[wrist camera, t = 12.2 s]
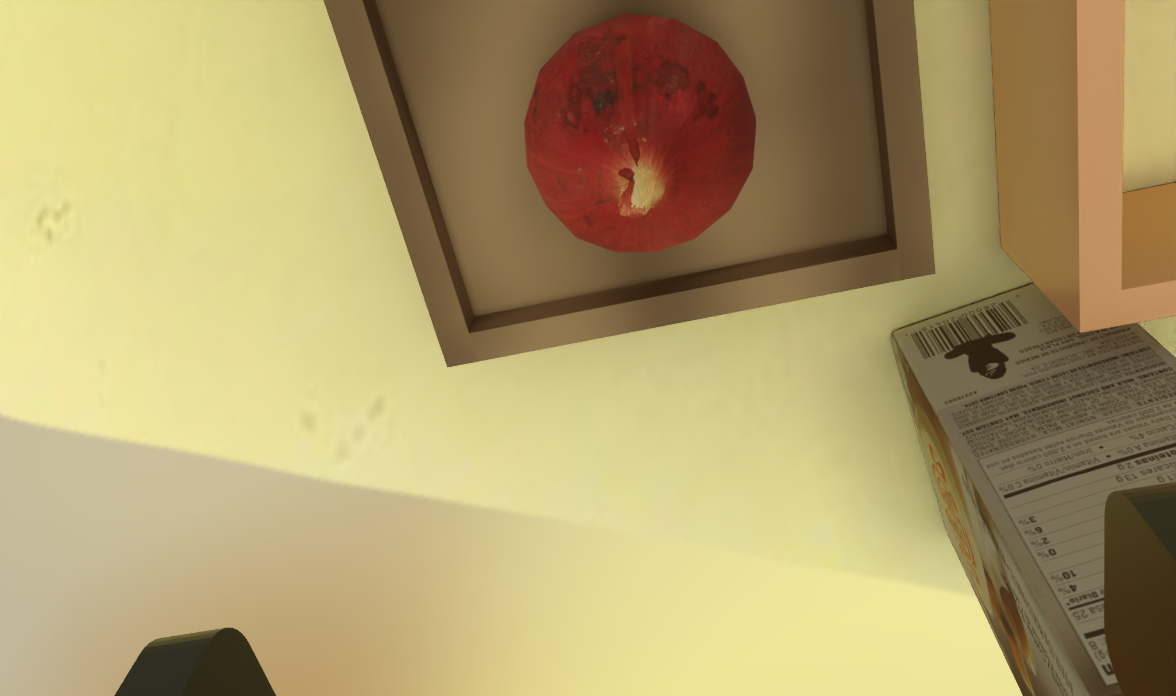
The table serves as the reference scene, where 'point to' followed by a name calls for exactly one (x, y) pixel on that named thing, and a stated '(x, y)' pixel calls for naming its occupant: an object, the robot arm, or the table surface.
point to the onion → (639, 133)
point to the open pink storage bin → (1075, 166)
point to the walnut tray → (639, 279)
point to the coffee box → (1038, 466)
